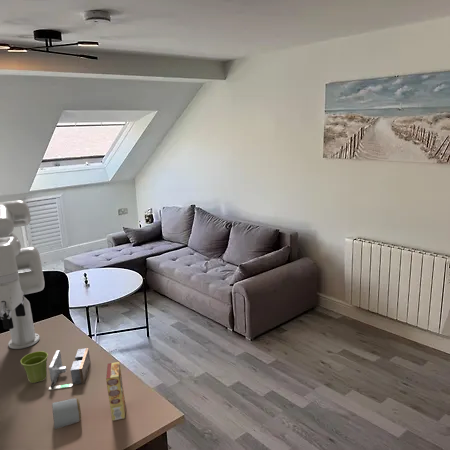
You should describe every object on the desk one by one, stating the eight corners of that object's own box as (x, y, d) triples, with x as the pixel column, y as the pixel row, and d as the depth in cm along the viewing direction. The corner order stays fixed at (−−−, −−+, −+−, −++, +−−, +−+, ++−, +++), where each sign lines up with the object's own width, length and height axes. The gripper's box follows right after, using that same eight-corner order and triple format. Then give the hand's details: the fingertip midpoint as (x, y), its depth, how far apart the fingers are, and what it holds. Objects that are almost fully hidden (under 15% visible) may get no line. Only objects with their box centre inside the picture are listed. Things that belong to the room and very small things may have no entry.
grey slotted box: (48, 390, 148) (46, 375, 147) (59, 365, 164) (56, 351, 162) (83, 385, 150) (81, 370, 149) (90, 361, 165) (88, 348, 164)
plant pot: (56, 373, 159) (53, 352, 157) (38, 387, 150) (34, 366, 148) (37, 369, 162) (33, 349, 160) (18, 383, 153) (14, 363, 151)
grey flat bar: (50, 388, 149) (47, 371, 147) (59, 366, 163) (56, 350, 161) (61, 387, 149) (58, 369, 148) (69, 365, 163) (67, 349, 161)
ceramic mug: (83, 425, 130) (80, 403, 128) (55, 434, 126) (51, 412, 125) (79, 406, 139) (76, 385, 138) (53, 414, 136) (49, 393, 134)
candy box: (125, 419, 132) (119, 376, 128) (111, 421, 131) (105, 378, 127) (125, 401, 140) (120, 361, 136) (112, 404, 139) (106, 363, 136)
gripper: (7, 269, 153) (15, 312, 157) (-18, 287, 136) (-8, 334, 140) (28, 268, 153) (35, 310, 157) (6, 286, 137) (14, 333, 141)
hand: (15, 322), depth 149 cm, fingers open, 9 cm apart
